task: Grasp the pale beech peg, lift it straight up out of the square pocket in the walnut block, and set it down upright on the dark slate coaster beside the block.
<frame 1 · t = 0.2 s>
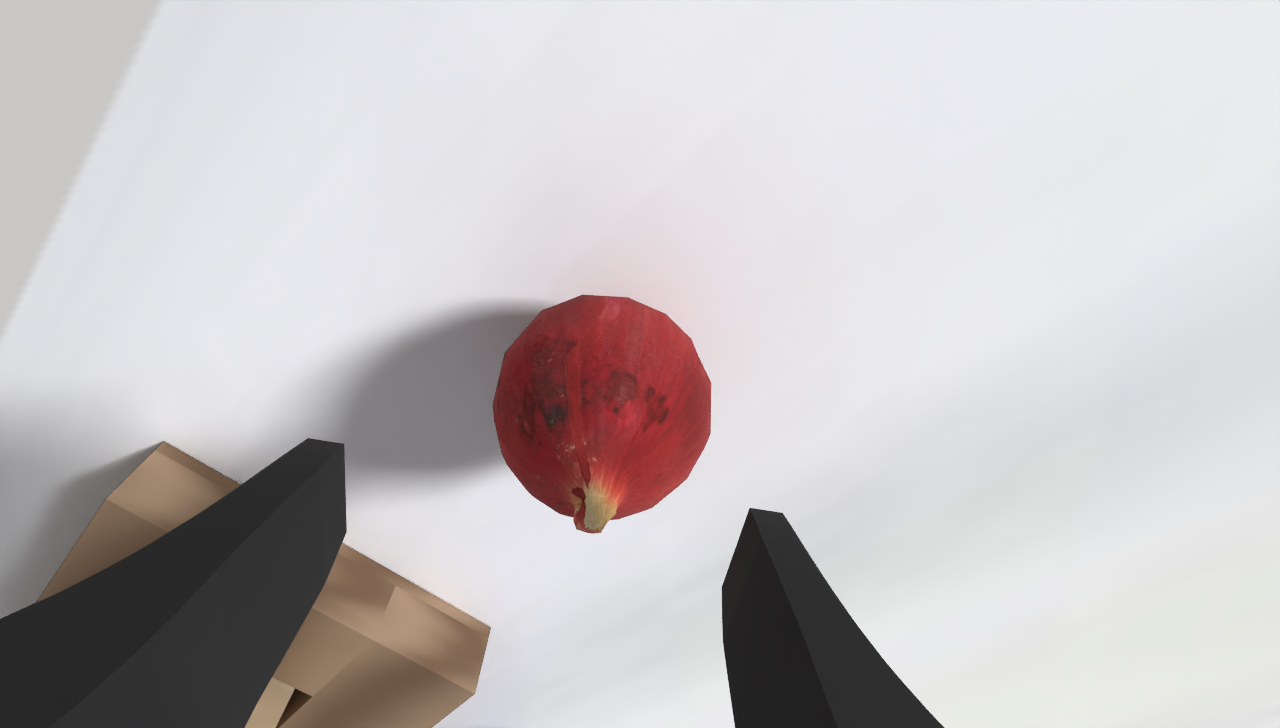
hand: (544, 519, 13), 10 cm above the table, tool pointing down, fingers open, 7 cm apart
peg: (250, 642, 29), resting on pocket block
red rounded piece: (611, 336, 22), on the table
pocket block: (256, 632, 29), on the table
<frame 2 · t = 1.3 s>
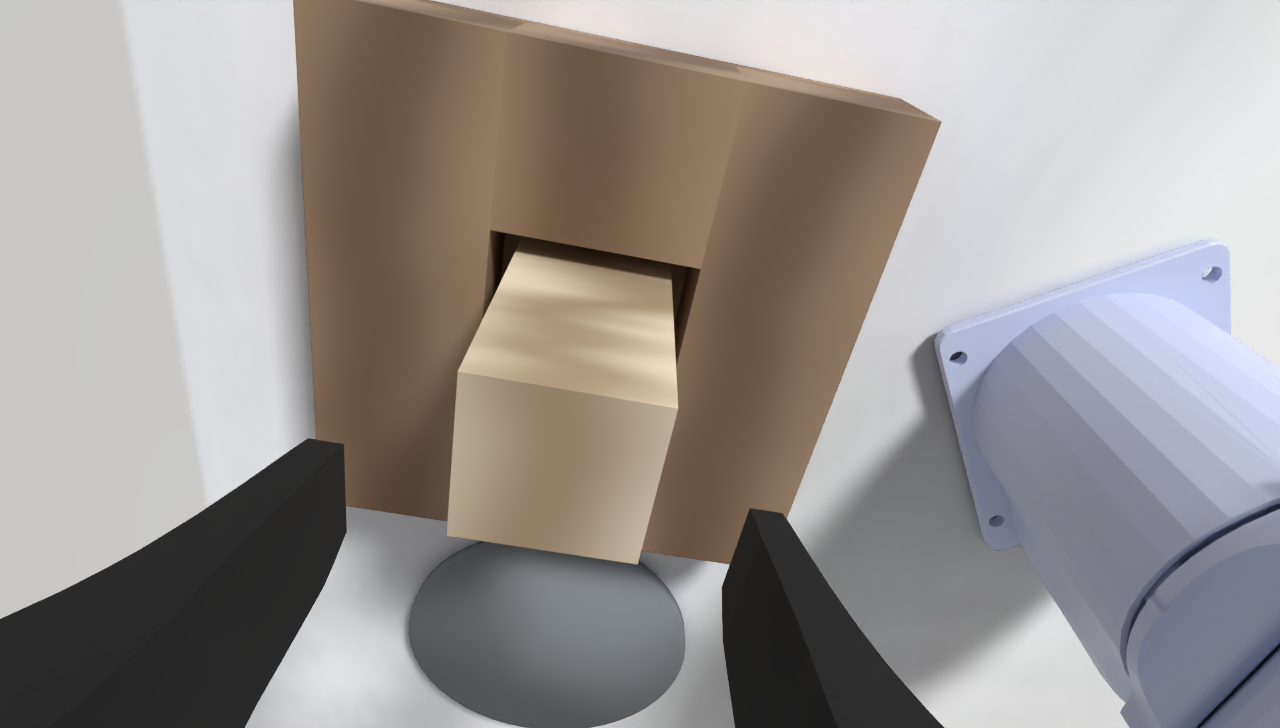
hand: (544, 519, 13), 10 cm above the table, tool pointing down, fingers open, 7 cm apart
peg: (588, 301, 20), resting on pocket block
pocket block: (590, 294, 21), on the table
coaster: (549, 634, 29), on the table
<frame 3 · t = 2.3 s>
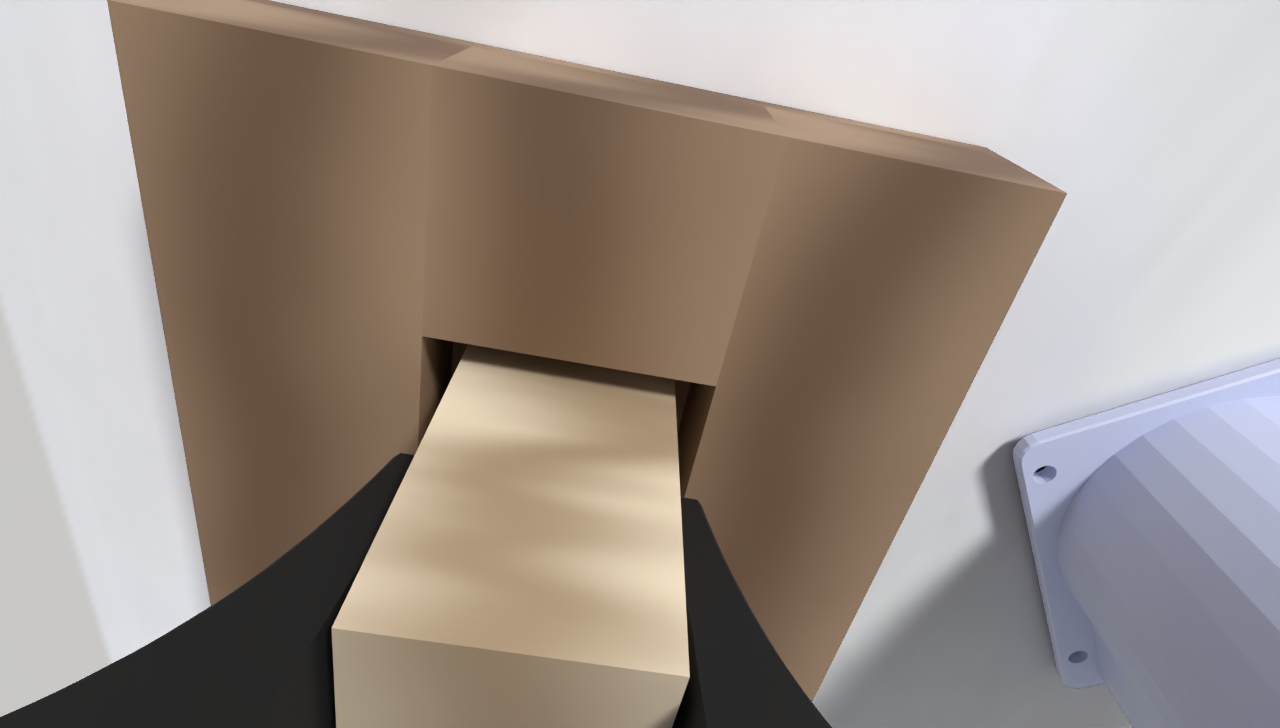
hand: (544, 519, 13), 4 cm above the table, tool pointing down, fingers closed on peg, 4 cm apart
peg: (566, 405, 16), resting on pocket block, touching gripper
pocket block: (569, 393, 16), on the table
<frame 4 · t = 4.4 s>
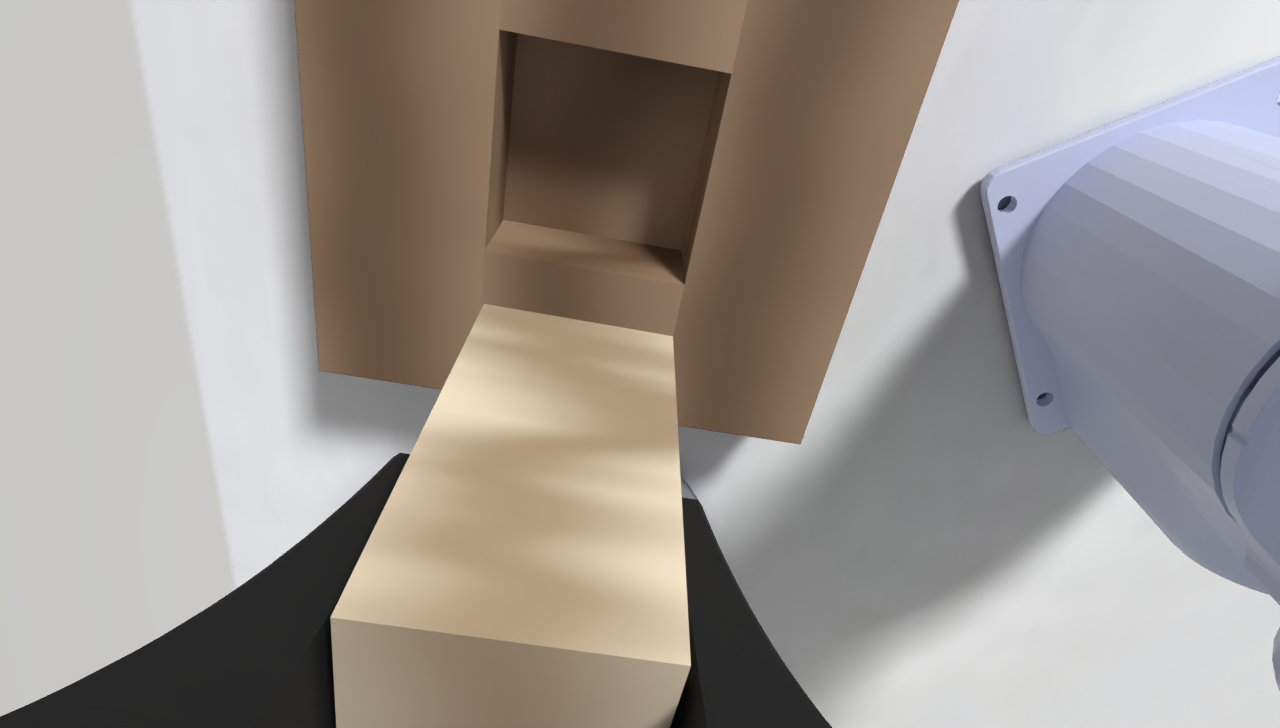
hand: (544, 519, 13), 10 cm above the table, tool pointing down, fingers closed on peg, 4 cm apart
peg: (566, 398, 16), point 7 cm above the table, touching gripper
pocket block: (607, 140, 19), on the table
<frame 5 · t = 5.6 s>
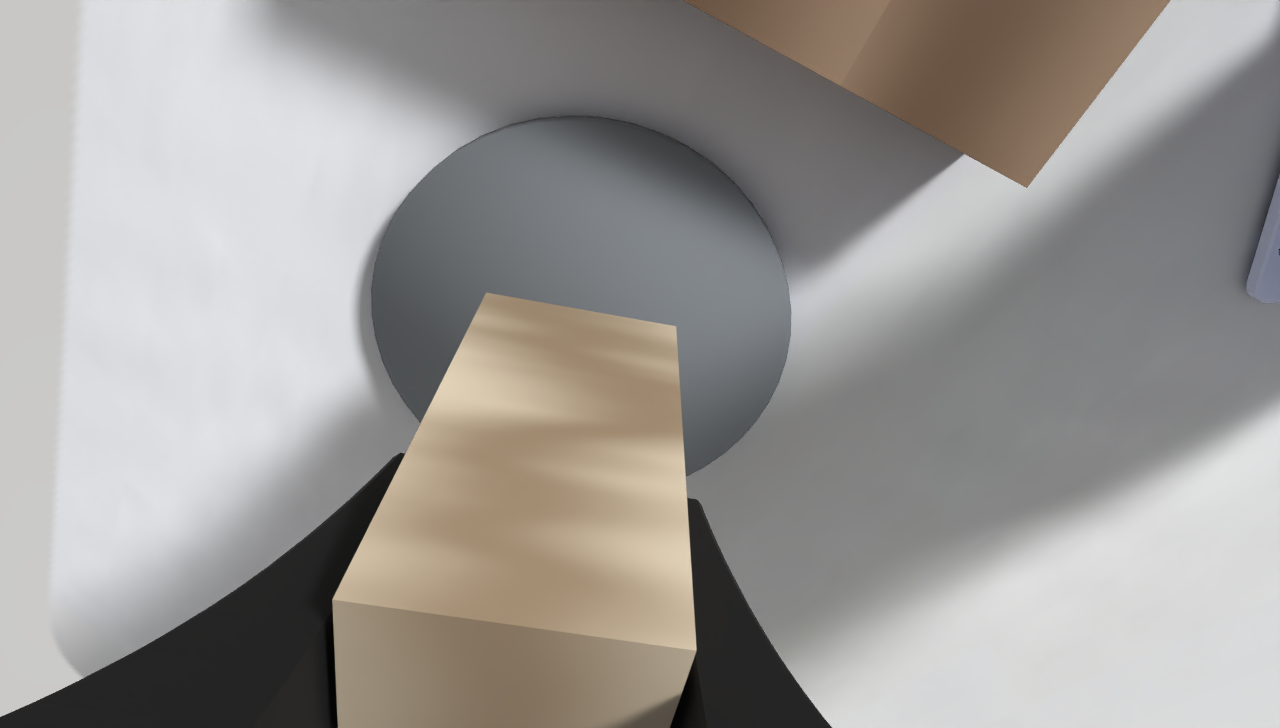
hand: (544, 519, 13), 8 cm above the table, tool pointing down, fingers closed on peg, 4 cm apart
peg: (569, 389, 16), point 4 cm above the table, touching gripper
coaster: (583, 326, 19), on the table
when the fingers open (5 cm above the table, at t = 6.4 s): peg stays where it is, resting on coaster.
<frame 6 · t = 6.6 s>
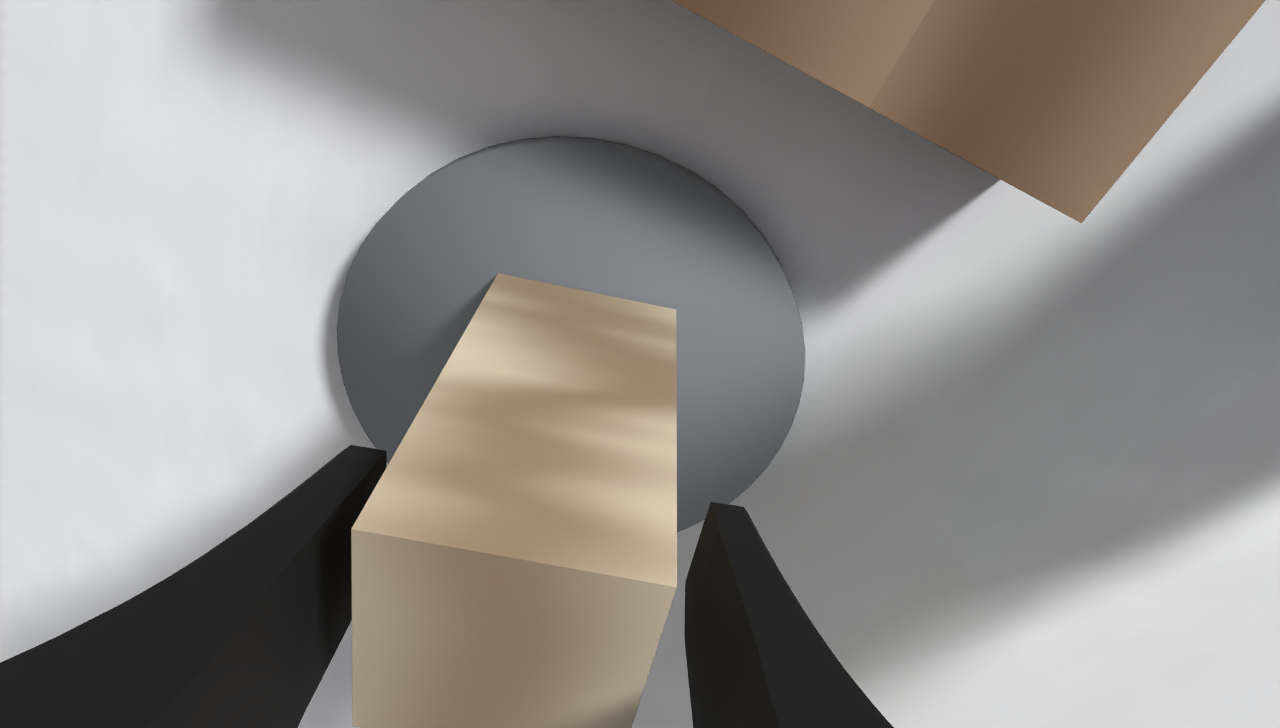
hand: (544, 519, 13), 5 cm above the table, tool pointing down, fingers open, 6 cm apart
peg: (574, 367, 16), point 1 cm above the table, touching coaster
coaster: (574, 366, 17), on the table
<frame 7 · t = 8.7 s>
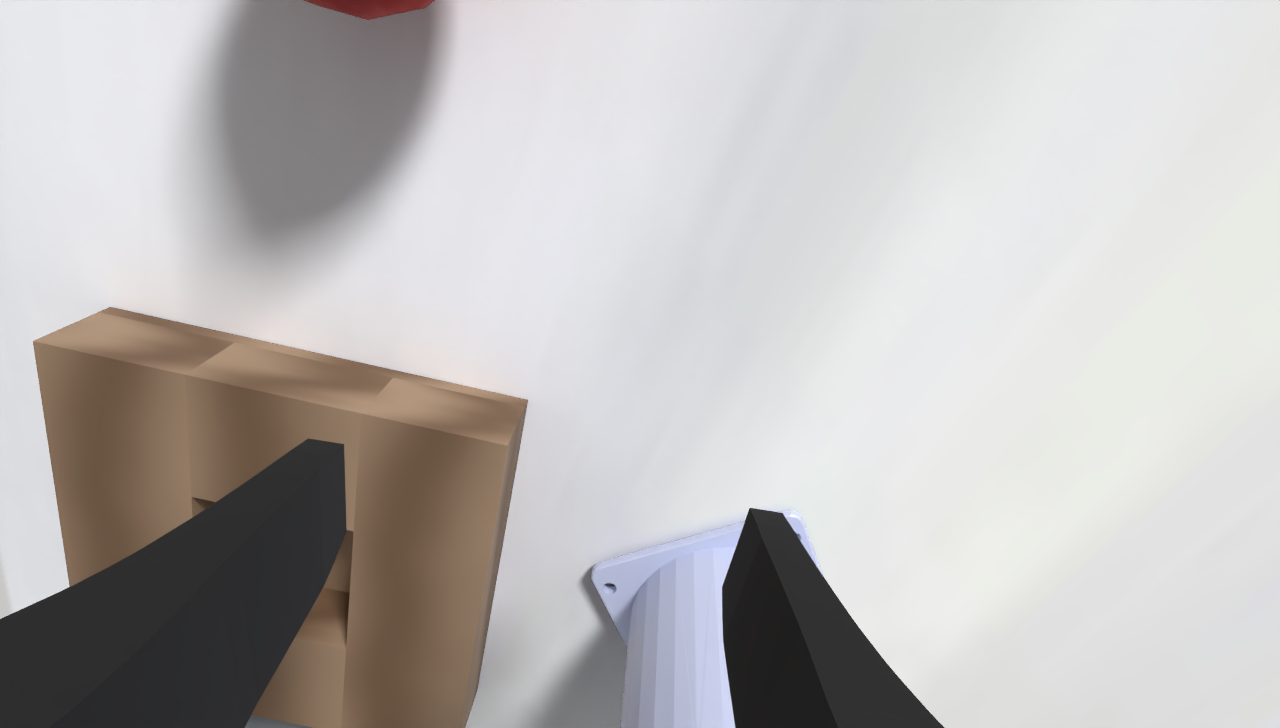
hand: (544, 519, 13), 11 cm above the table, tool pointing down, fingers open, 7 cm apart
pocket block: (315, 521, 26), on the table
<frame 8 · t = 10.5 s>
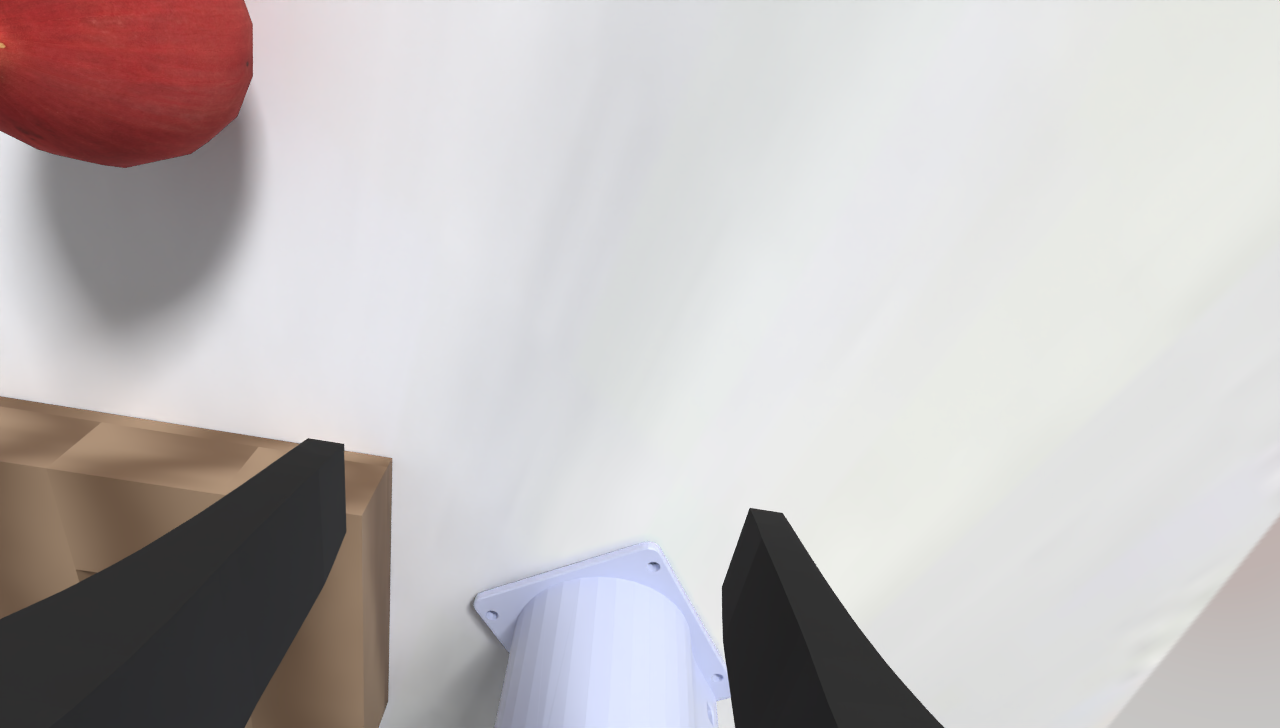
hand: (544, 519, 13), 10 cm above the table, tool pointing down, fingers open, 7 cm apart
red rounded piece: (199, 9, 18), on the table
pocket block: (211, 568, 28), on the table
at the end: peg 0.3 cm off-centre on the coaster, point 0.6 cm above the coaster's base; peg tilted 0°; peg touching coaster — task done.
